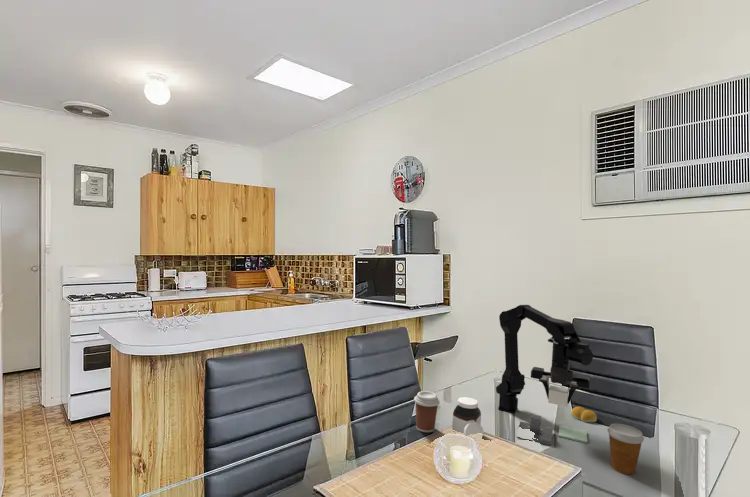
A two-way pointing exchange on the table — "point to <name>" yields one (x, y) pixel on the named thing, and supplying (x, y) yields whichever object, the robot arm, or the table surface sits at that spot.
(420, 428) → the coffee cup
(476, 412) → the spread jar
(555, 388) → the beige block
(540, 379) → the robot arm
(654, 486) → the table surface
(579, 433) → the pad
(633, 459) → the disposable coffee cup
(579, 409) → the bread roll
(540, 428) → the post stand
